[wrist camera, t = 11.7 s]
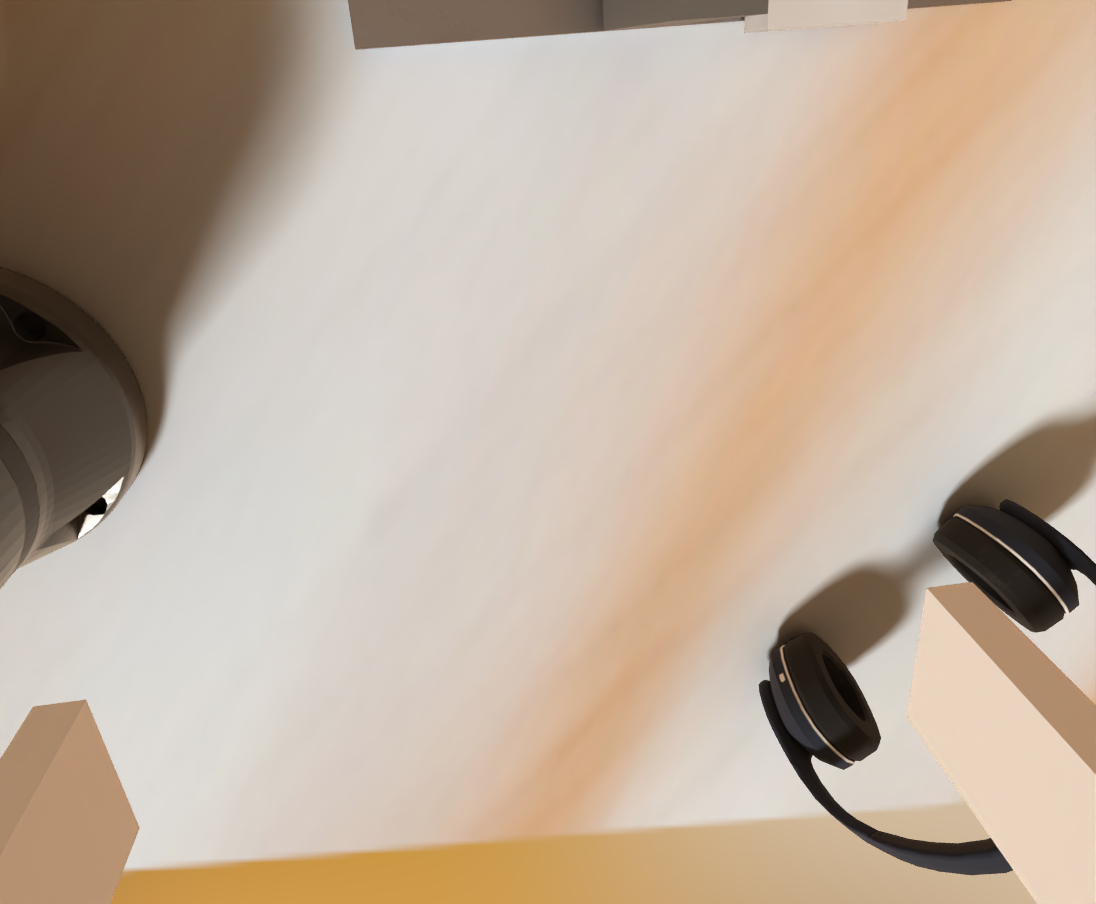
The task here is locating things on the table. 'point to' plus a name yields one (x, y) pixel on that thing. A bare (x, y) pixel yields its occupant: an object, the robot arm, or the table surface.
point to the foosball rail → (494, 19)
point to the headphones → (840, 707)
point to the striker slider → (752, 13)
